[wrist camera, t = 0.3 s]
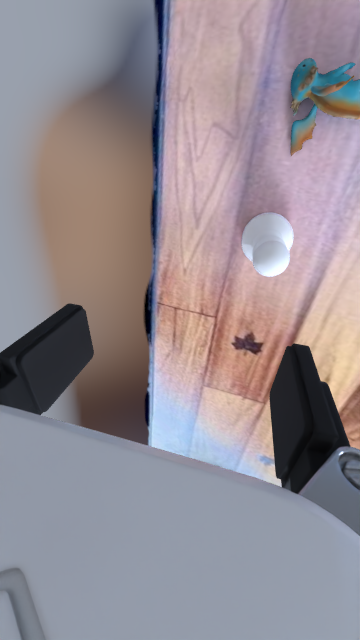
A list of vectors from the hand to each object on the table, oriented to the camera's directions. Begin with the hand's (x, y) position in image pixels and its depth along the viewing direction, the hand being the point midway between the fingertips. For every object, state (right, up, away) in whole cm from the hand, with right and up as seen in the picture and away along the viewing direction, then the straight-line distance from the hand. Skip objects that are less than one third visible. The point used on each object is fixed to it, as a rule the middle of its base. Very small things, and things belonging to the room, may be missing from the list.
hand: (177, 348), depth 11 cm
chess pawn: (+9, +10, +15) cm, 20 cm away
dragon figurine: (+13, +19, +8) cm, 24 cm away
